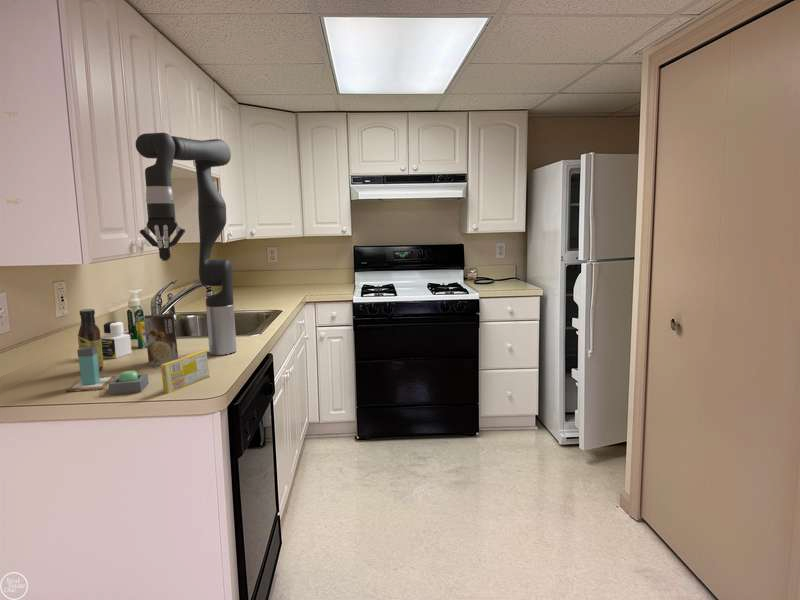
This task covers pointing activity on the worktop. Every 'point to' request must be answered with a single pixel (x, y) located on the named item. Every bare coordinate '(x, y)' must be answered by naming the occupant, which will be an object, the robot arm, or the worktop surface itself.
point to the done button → (128, 376)
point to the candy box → (184, 371)
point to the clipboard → (100, 385)
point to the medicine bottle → (115, 341)
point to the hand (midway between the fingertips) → (165, 260)
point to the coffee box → (160, 338)
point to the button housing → (128, 385)
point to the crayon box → (141, 333)
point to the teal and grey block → (88, 365)
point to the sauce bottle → (90, 334)
